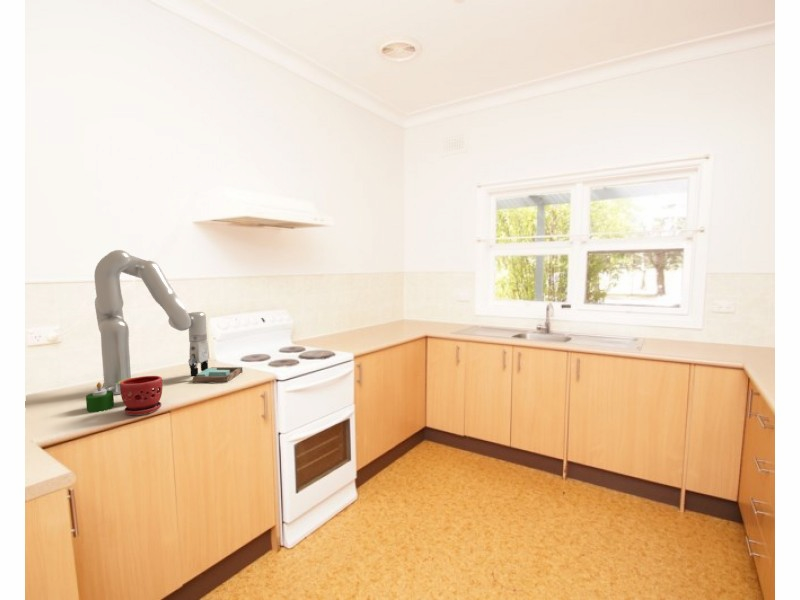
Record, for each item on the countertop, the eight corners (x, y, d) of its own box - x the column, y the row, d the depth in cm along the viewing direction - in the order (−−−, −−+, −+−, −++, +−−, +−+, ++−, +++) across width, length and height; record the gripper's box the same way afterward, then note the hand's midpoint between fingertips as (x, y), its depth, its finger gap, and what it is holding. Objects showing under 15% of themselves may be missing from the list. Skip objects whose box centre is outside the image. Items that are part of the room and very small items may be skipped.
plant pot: (171, 407, 154) (170, 376, 153) (138, 419, 142) (136, 386, 141) (147, 403, 159) (146, 373, 158) (113, 414, 147) (111, 382, 146)
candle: (101, 412, 149) (100, 385, 148) (81, 412, 150) (79, 385, 149) (119, 404, 157) (117, 379, 156) (99, 404, 158) (97, 379, 157)
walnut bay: (227, 382, 186) (226, 377, 186) (193, 382, 186) (193, 377, 186) (242, 372, 204) (242, 367, 204) (211, 372, 204) (211, 367, 204)
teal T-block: (222, 380, 189) (222, 374, 189) (196, 380, 189) (196, 374, 189) (233, 373, 201) (233, 367, 201) (208, 373, 201) (208, 367, 201)
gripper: (196, 341, 185) (198, 378, 186) (214, 334, 202) (215, 368, 204) (180, 341, 185) (182, 378, 186) (199, 335, 202) (200, 368, 204)
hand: (199, 373), depth 195 cm, fingers open, 9 cm apart
